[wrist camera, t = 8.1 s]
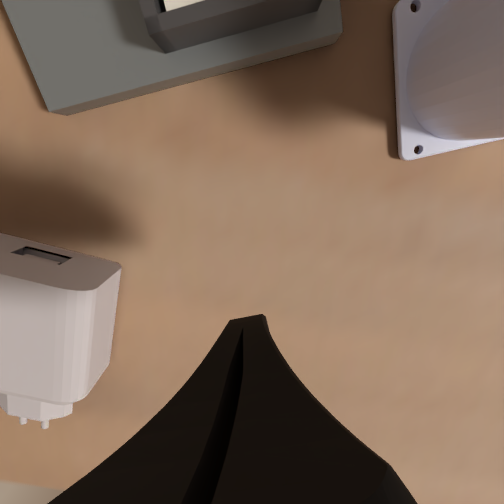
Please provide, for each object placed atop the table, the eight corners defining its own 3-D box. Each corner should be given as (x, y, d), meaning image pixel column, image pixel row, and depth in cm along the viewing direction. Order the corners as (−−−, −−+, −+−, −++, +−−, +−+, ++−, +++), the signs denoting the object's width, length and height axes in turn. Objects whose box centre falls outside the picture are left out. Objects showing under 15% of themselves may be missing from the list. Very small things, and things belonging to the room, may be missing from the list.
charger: (2, 387, 24) (-6, 229, 19) (107, 410, 25) (126, 262, 20) (-57, 441, 19) (-86, 251, 14) (74, 466, 20) (88, 294, 15)
